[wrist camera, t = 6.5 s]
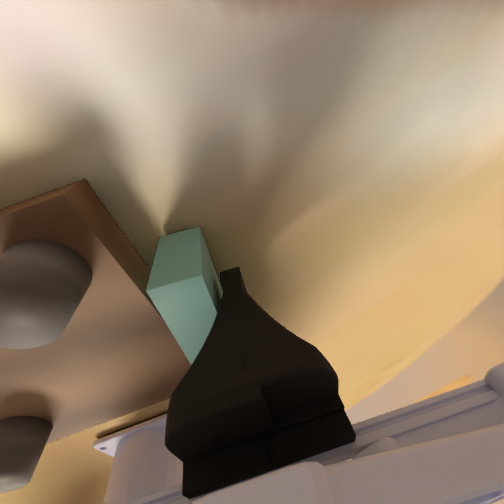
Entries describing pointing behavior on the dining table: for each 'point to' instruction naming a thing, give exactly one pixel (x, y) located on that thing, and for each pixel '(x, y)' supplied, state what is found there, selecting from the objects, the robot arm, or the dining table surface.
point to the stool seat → (73, 327)
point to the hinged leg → (185, 288)
